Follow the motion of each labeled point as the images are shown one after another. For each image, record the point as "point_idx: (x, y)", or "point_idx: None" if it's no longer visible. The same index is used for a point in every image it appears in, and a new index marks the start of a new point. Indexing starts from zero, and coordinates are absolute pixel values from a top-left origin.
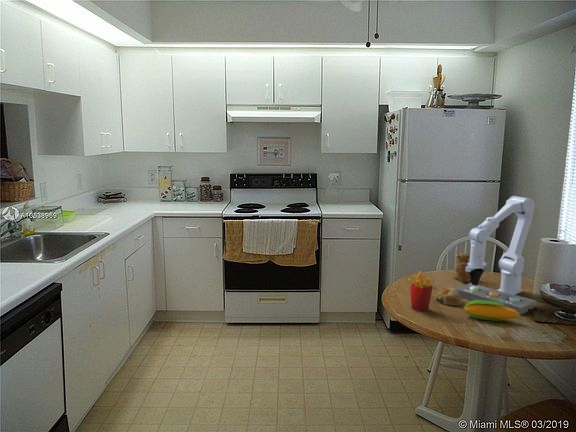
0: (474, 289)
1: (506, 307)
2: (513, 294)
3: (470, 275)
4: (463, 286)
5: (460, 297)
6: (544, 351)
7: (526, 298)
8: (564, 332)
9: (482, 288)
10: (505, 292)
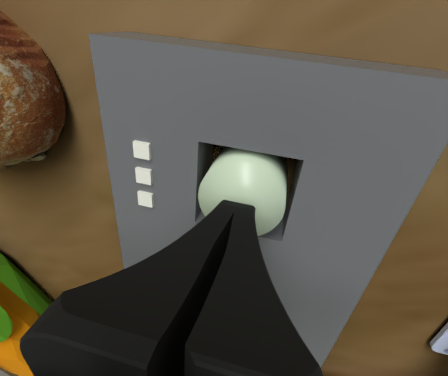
0: (204, 210)
1: (20, 374)
2: (436, 351)
3: (151, 261)
4: (252, 80)
5: (16, 163)
6: (4, 371)
7: None
8: None
9: (319, 240)
10: (326, 354)
